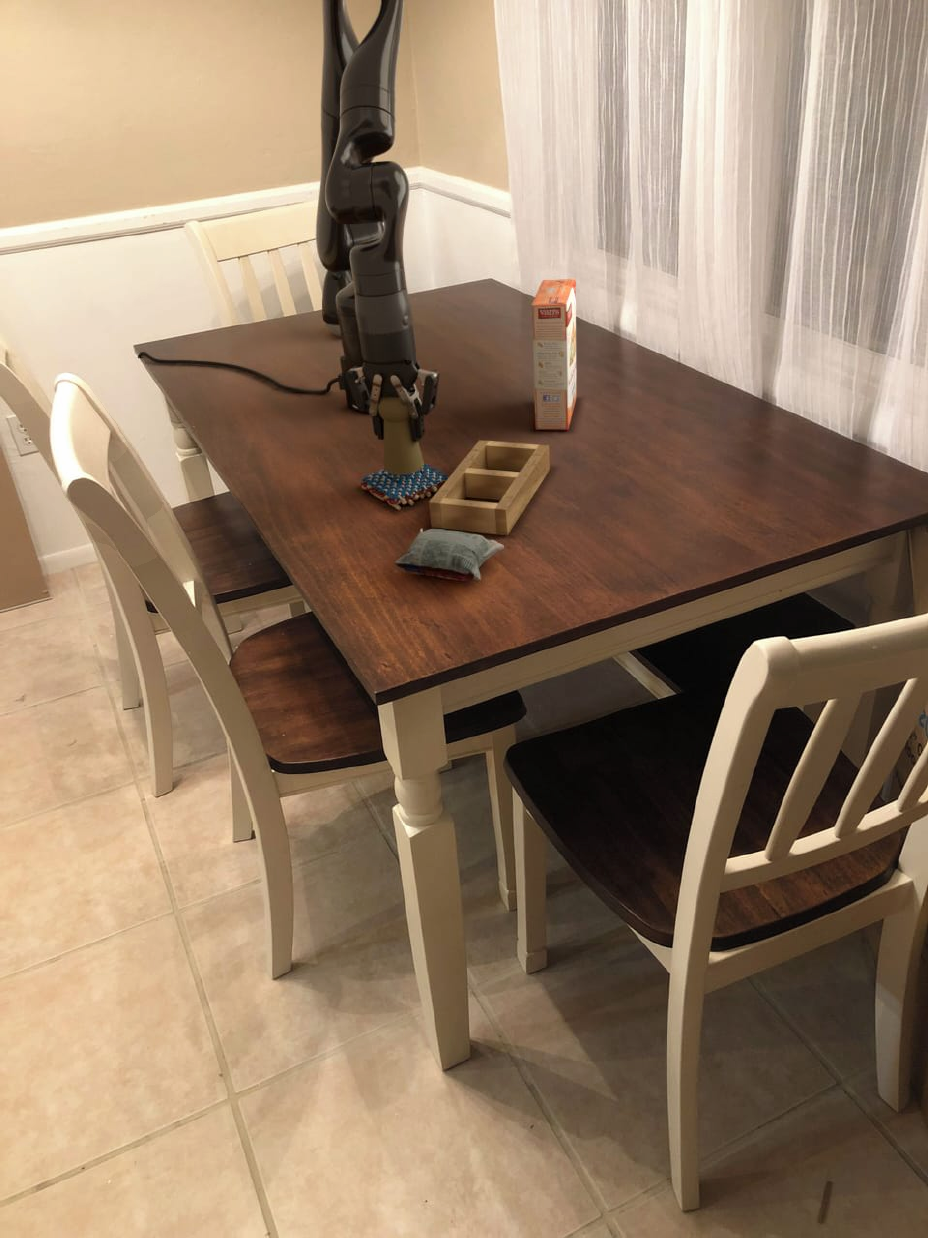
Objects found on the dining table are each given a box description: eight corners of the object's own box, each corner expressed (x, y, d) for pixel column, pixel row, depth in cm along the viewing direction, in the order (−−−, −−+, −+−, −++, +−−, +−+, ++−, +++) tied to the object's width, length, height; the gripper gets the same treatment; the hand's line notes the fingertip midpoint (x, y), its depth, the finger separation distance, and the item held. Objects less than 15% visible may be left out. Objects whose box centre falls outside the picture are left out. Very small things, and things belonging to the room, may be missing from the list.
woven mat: (358, 489, 145) (356, 477, 144) (415, 467, 150) (414, 455, 149) (395, 512, 138) (393, 499, 137) (454, 488, 143) (453, 476, 141)
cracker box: (571, 431, 156) (567, 302, 144) (534, 431, 157) (528, 303, 146) (579, 399, 167) (577, 276, 156) (545, 399, 169) (540, 278, 157)
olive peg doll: (429, 458, 143) (421, 388, 137) (415, 476, 138) (406, 404, 132) (392, 455, 145) (383, 386, 139) (377, 473, 140) (366, 402, 134)
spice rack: (431, 527, 133) (428, 502, 131) (481, 463, 149) (479, 439, 147) (507, 535, 129) (505, 509, 127) (550, 469, 145) (549, 445, 143)
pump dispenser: (320, 342, 206) (308, 270, 198) (332, 326, 215) (320, 257, 206) (366, 340, 205) (355, 267, 196) (376, 325, 213) (366, 254, 205)
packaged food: (424, 546, 129) (420, 514, 126) (505, 558, 124) (503, 525, 122) (395, 579, 123) (390, 546, 120) (479, 594, 118) (476, 560, 115)
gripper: (443, 315, 130) (455, 431, 140) (349, 313, 135) (367, 425, 145) (423, 333, 125) (436, 453, 134) (325, 330, 129) (345, 446, 139)
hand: (400, 438), depth 139 cm, fingers closed on olive peg doll, 5 cm apart
